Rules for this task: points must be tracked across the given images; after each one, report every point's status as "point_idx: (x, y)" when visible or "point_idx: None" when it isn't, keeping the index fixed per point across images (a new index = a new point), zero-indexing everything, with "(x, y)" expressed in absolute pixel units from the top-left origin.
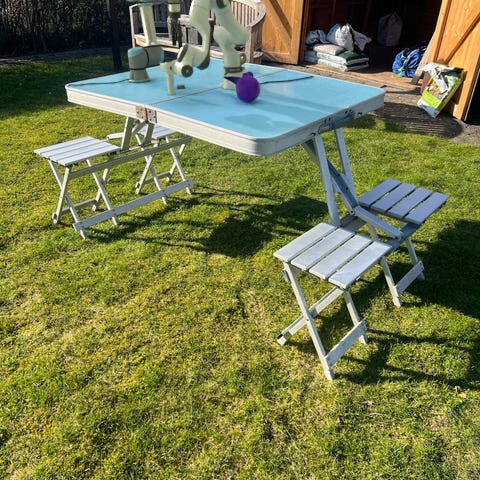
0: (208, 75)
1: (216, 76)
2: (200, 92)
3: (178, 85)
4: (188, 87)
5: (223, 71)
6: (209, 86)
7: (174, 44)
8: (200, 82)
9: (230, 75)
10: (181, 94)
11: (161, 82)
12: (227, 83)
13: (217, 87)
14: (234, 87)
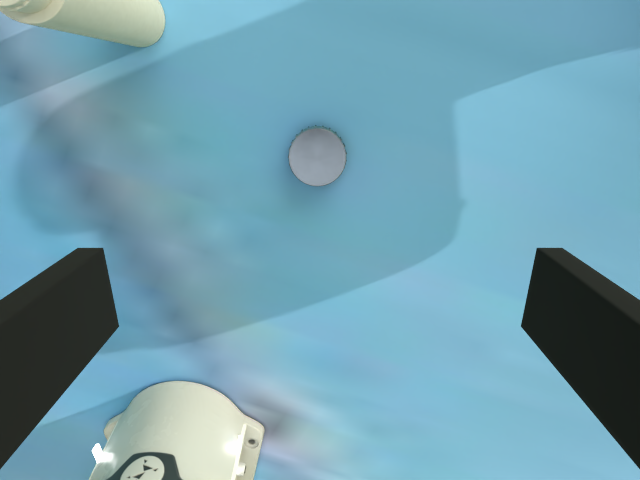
0: (606, 432)
1: (542, 457)
2: (120, 230)
3: (303, 133)
4: (315, 209)
5: (157, 472)
6: (278, 335)
7: (544, 299)
8: (429, 328)
9: (104, 474)
10: (98, 87)
11: (624, 72)
12: (136, 417)
13: (226, 364)
14: (115, 426)
